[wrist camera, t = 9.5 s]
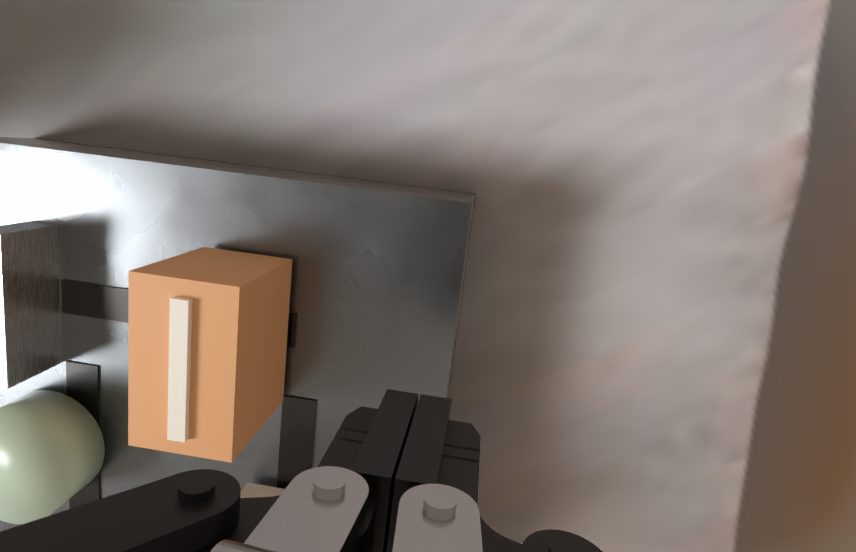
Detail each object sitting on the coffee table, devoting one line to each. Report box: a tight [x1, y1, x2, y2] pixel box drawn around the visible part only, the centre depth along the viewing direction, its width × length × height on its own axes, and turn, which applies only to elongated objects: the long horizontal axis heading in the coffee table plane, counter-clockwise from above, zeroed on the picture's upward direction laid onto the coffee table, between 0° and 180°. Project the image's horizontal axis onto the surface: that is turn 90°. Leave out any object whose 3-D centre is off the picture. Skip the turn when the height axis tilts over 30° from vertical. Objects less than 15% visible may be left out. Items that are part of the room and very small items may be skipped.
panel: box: [0, 137, 475, 532], centre depth 22 cm, size 18×26×6 cm
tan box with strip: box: [128, 247, 292, 463], centre depth 17 cm, size 3×5×4 cm, turn 173°
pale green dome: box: [0, 390, 105, 524], centre depth 20 cm, size 4×4×2 cm
